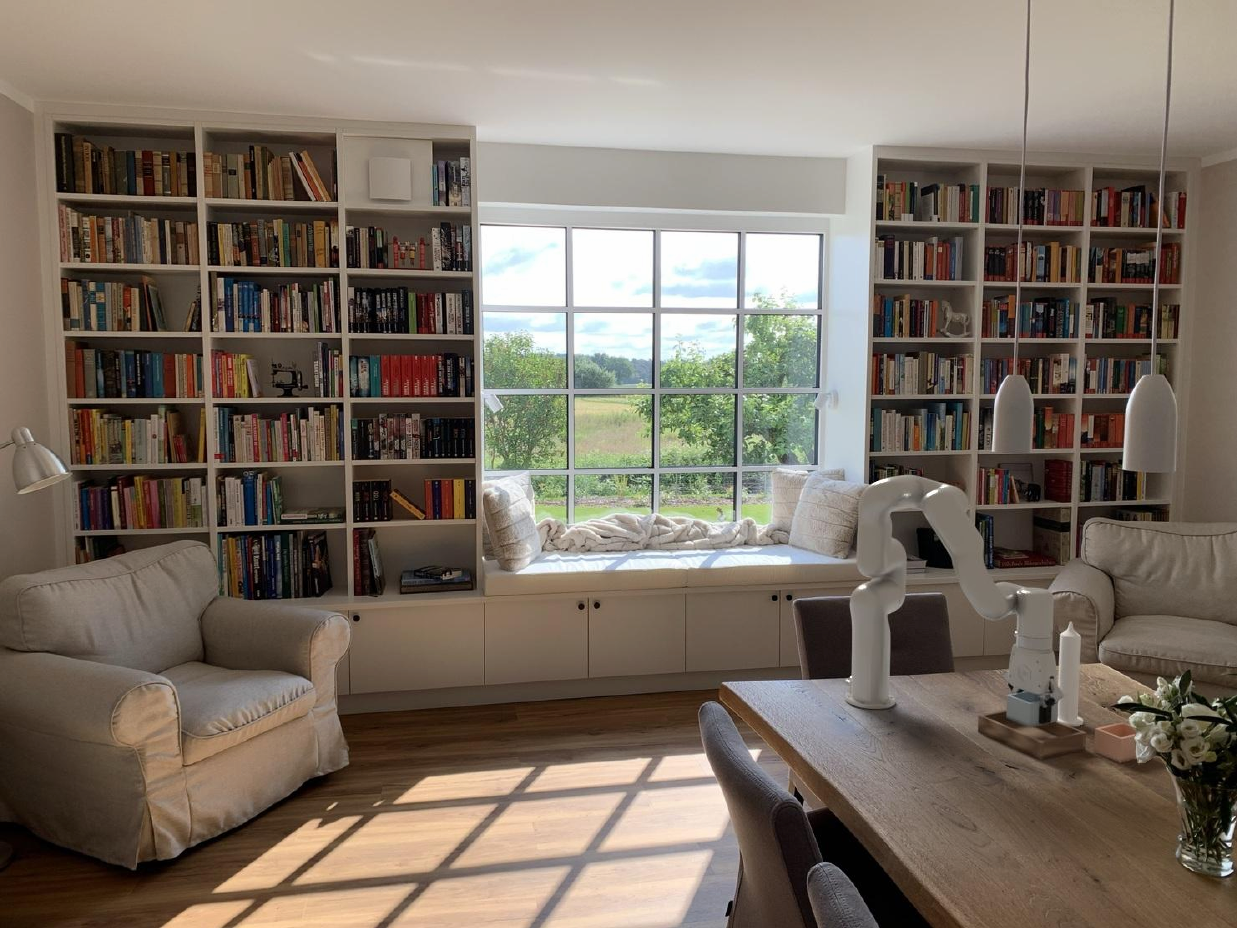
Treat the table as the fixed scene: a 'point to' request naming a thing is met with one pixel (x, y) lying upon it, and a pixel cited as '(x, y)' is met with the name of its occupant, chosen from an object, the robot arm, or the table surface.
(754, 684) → the table surface
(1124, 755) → the terracotta crate
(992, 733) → the walnut crate
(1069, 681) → the candle
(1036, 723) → the bluegrey crate
